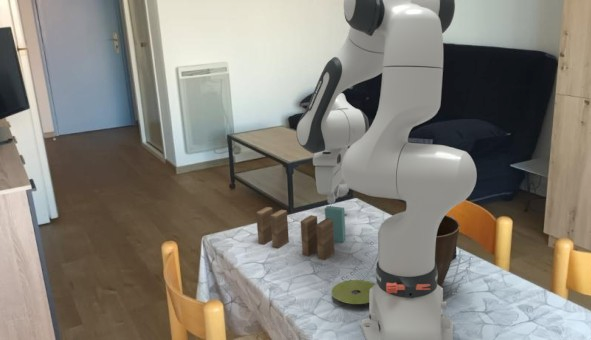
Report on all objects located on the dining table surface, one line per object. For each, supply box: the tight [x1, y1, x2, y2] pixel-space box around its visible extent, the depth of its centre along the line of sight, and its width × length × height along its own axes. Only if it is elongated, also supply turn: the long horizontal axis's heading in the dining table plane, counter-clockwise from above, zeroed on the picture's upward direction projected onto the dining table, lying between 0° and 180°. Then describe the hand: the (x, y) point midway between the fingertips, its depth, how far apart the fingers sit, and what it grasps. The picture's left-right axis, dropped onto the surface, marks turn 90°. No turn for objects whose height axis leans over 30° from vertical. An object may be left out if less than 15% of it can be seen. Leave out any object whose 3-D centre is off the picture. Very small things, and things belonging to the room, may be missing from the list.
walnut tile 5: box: [316, 218, 335, 261], centre depth 151 cm, size 2×5×10 cm, turn 145°
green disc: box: [331, 279, 376, 305], centre depth 130 cm, size 11×11×2 cm
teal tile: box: [324, 205, 347, 244], centre depth 161 cm, size 2×5×10 cm, turn 64°
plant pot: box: [435, 214, 460, 287], centre depth 132 cm, size 15×15×16 cm
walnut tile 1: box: [255, 206, 274, 246], centre depth 163 cm, size 2×5×10 cm, turn 145°
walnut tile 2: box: [270, 209, 290, 249], centre depth 160 cm, size 2×5×10 cm, turn 145°
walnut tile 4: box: [300, 214, 318, 257], centre depth 154 cm, size 2×5×10 cm, turn 146°
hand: (333, 200), depth 159 cm, fingers open, 3 cm apart
